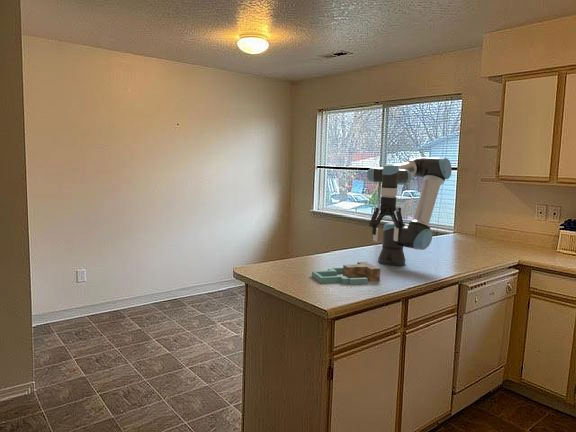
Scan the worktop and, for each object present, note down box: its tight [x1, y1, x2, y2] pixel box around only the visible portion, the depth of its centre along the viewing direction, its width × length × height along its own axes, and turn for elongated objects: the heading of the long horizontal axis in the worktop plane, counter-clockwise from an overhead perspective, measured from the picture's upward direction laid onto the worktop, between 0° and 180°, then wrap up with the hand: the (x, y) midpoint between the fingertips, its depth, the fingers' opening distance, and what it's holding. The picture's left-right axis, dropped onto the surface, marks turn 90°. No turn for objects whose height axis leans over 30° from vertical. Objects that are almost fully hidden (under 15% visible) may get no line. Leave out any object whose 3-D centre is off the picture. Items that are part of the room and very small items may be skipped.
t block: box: [342, 261, 381, 282], centre depth 210 cm, size 15×14×6 cm
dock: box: [311, 266, 369, 285], centre depth 207 cm, size 22×21×2 cm
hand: (385, 240), depth 212 cm, fingers open, 11 cm apart
